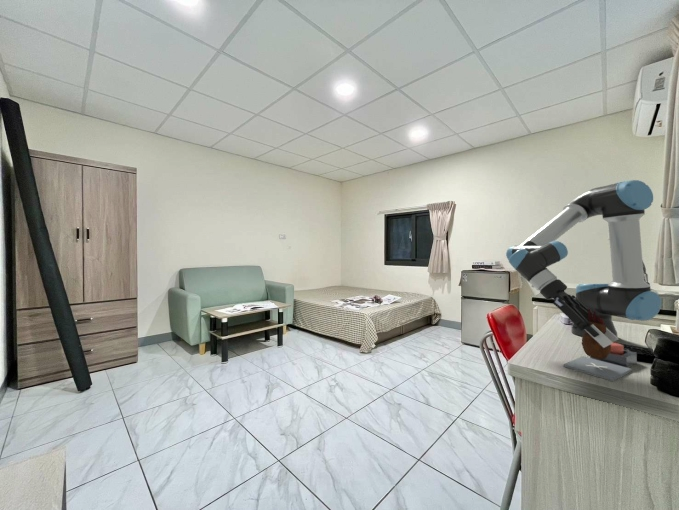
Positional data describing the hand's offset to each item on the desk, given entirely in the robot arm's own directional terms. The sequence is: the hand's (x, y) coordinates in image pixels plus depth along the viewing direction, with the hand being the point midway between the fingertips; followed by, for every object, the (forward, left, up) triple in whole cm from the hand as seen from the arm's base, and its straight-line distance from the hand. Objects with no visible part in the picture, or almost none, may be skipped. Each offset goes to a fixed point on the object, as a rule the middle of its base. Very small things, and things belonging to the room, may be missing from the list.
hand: (611, 343), depth 84 cm
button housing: (-13, -4, -9) cm, 16 cm away
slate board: (0, -4, -9) cm, 10 cm away
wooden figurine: (0, -4, -6) cm, 7 cm away
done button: (-13, -4, -6) cm, 15 cm away
